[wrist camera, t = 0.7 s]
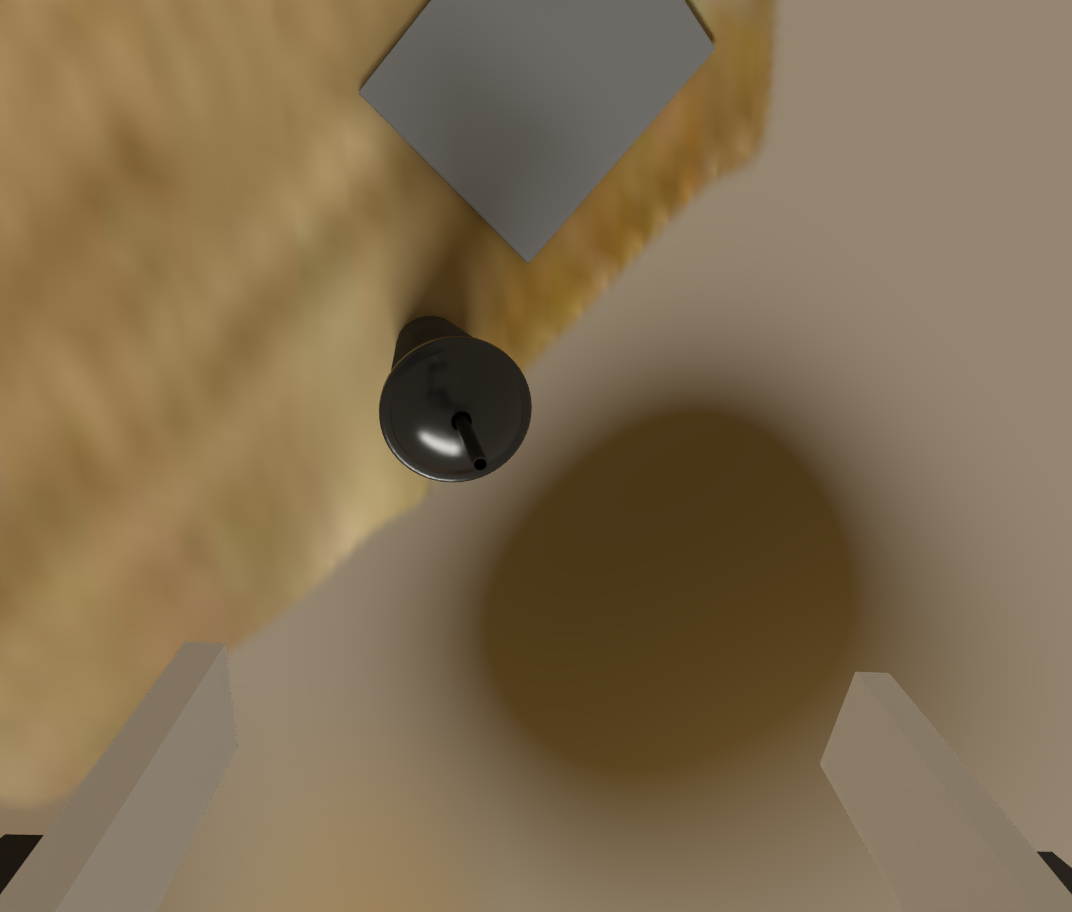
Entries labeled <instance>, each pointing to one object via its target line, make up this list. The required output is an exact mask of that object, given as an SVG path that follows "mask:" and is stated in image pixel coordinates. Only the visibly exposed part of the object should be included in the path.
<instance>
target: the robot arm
mask: <svg viewBox="0 0 1072 912" xmlns="http://www.w3.org/2000/svg"><path fill="white" fill-rule="evenodd" d="M237 746H238V743H237V734H236V725H235V717H234V710H233V701H232V692H231V684H230V676H229V668H228V659H227V651H226V643H207V642H184V644H183V645H182V646H181V648H180V649H179V651H178V652H177V653H176V655H175V656H174V657H173V659H172V660H171V662H170V663H169V664H168V666H167V667H166V668H165V670H164V671H163V672H162V674H161V675H160V677H159V678H158V679H157V681H156V682H155V683H154V685H153V686H152V688H151V689H150V690H149V692H148V693H147V694H146V696H145V697H144V699H143V700H142V701H141V703H140V704H139V705H138V707H137V708H136V709H135V711H134V712H133V714H132V715H131V716H130V718H129V719H128V720H127V722H126V723H125V725H124V726H123V727H122V729H121V730H120V731H119V733H118V734H117V735H116V737H115V738H114V740H113V741H112V742H111V744H110V745H109V746H108V748H107V749H106V751H105V752H104V753H103V755H102V756H101V757H100V759H99V760H98V762H97V763H96V764H95V766H94V767H93V768H92V770H91V771H90V772H89V774H88V775H87V777H86V778H85V779H84V781H83V782H82V783H81V785H80V786H79V788H78V789H77V790H76V792H75V793H74V794H73V796H72V797H71V799H70V800H69V801H68V803H67V804H66V805H65V807H64V808H63V809H62V811H61V812H60V814H59V815H58V817H57V818H56V819H55V820H54V822H53V823H52V825H51V826H50V827H49V829H48V830H47V831H46V833H45V834H44V835H10V834H6V835H4V836H3V837H1V838H0V912H157V910H158V908H159V906H160V904H161V902H162V900H163V897H164V895H165V893H166V892H167V889H168V888H169V885H170V883H171V881H172V879H173V877H174V875H175V873H176V871H177V869H178V867H179V865H180V863H181V861H182V859H183V857H184V855H185V853H186V851H187V849H188V847H189V845H190V843H191V840H192V838H193V837H194V835H195V833H196V830H197V828H198V826H199V824H200V822H201V820H202V818H203V816H204V814H205V812H206V810H207V808H208V806H209V804H210V802H211V800H212V798H213V796H214V794H215V792H216V790H217V788H218V786H219V783H220V782H221V780H222V777H223V775H224V773H225V771H226V769H227V767H228V765H229V763H230V761H231V759H232V757H233V755H234V753H235V751H236V749H237ZM820 765H821V767H822V768H823V771H824V772H825V774H826V776H827V778H828V779H829V781H830V783H831V785H832V786H833V788H834V790H835V792H836V793H837V795H838V797H839V799H840V801H841V802H842V804H843V806H844V807H845V809H846V811H847V813H848V814H849V816H850V818H851V820H852V822H853V823H854V825H855V827H856V829H857V831H858V832H859V834H860V836H861V838H862V839H863V841H864V843H865V845H866V846H867V848H868V850H869V852H870V853H871V855H872V857H873V859H874V860H875V862H876V864H877V866H878V867H879V869H880V871H881V873H882V875H883V876H884V878H885V880H886V881H887V883H888V885H889V887H890V888H891V890H892V892H893V894H894V895H895V897H896V899H897V901H898V903H899V904H900V906H901V908H902V910H903V912H1072V868H1071V867H1070V866H1068V865H1067V864H1066V863H1065V862H1063V861H1062V860H1061V859H1060V858H1059V857H1057V856H1056V855H1055V854H1054V853H1053V852H1036V851H1035V849H1034V848H1033V847H1032V846H1031V845H1030V843H1029V842H1028V841H1027V840H1026V839H1025V837H1024V836H1023V835H1022V834H1021V832H1020V831H1019V830H1018V829H1017V828H1016V826H1015V825H1014V824H1013V823H1012V822H1011V820H1010V819H1009V818H1008V817H1007V816H1006V814H1005V813H1004V812H1003V811H1002V810H1001V808H1000V807H999V806H998V805H997V803H996V802H995V801H994V800H993V799H992V797H991V796H990V795H989V794H988V793H987V791H986V790H985V789H984V788H983V786H982V785H981V784H980V783H979V782H978V780H977V779H976V778H975V777H974V776H973V774H972V773H971V772H970V771H969V770H968V768H967V767H966V766H965V765H964V763H963V762H962V761H961V760H960V759H959V758H958V756H957V755H956V754H955V753H954V751H953V750H952V749H951V748H950V746H949V745H948V744H947V743H946V742H945V740H944V739H943V738H942V737H941V736H940V734H939V733H938V732H937V731H936V730H935V728H934V727H933V726H932V725H931V724H930V722H929V721H928V720H927V719H926V718H925V716H924V715H923V714H922V713H921V711H920V710H919V709H918V708H917V707H916V705H915V704H914V703H913V702H912V701H911V699H910V698H909V697H908V696H907V694H906V693H905V692H904V691H903V690H902V688H901V687H900V686H899V685H898V684H897V682H896V681H895V680H894V679H893V678H892V676H891V675H890V674H889V673H870V672H855V675H854V678H853V680H852V683H851V685H850V688H849V690H848V693H847V696H846V698H845V701H844V703H843V706H842V708H841V711H840V713H839V716H838V719H837V721H836V724H835V726H834V729H833V731H832V734H831V737H830V739H829V742H828V744H827V747H826V750H825V752H824V755H823V757H822V760H821V763H820Z"/></svg>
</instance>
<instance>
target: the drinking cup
mask: <svg viewBox="0 0 1072 912" xmlns="http://www.w3.org/2000/svg"><path fill="white" fill-rule="evenodd" d="M531 410H532V405H531V395H530V391H529V387H528V384H527V381H526V379H525V377H524V375H523V373H522V372H521V370H520V368H519V367H518V366H517V364H516V363H515V362H514V361H513V360H512V359H511V358H510V357H509V356H508V355H507V354H506V353H505V352H503V351H502V350H501V349H499V348H498V347H496V346H494V345H492V344H490V343H488V342H486V341H483V340H480V339H477V338H473V337H472V336H470V335H469V334H467V333H466V332H464V331H463V330H461V329H460V328H458V327H456V326H455V325H453V324H452V323H450V322H449V321H447V320H445V319H443V318H440V317H434V316H426V317H421V318H418V319H416V320H414V321H412V322H410V323H409V324H408V325H407V326H406V327H405V328H404V329H403V330H402V331H401V333H400V335H399V337H398V340H397V343H396V348H395V353H394V358H393V363H392V369H391V372H390V374H389V375H388V377H387V379H386V381H385V384H384V386H383V389H382V393H381V397H380V403H379V419H380V426H381V430H382V433H383V436H384V439H385V441H386V443H387V445H388V447H389V448H390V450H391V451H392V453H393V454H394V455H395V456H396V458H397V459H398V460H399V461H400V462H401V463H402V464H403V465H405V466H406V467H407V468H409V469H410V470H412V471H413V472H415V473H417V474H419V475H421V476H423V477H426V478H429V479H432V480H437V481H442V482H463V481H470V480H474V479H477V478H480V477H483V476H485V475H487V474H489V473H491V472H493V471H495V470H496V469H498V468H499V467H501V466H502V465H503V464H504V463H506V462H507V461H508V460H509V459H510V458H511V457H512V456H513V455H514V453H515V452H516V451H517V449H518V448H519V446H520V445H521V443H522V442H523V440H524V438H525V436H526V433H527V430H528V428H529V424H530V418H531Z"/></svg>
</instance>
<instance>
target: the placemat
mask: <svg viewBox="0 0 1072 912" xmlns="http://www.w3.org/2000/svg"><path fill="white" fill-rule="evenodd" d="M715 49H716V48H715V47H714V45H713V44H712V42H711V41H710V39H709V37H708V36H707V34H706V33H705V31H704V30H703V28H702V27H701V25H700V24H699V22H698V20H697V19H696V17H695V16H694V14H693V13H692V11H691V10H690V8H689V6H688V5H687V3H686V2H685V0H431V1H430V2H429V3H428V5H427V6H426V7H425V8H424V10H423V11H422V12H421V14H420V15H419V16H418V17H417V19H416V20H415V21H414V22H413V24H412V25H411V26H410V27H409V29H408V30H407V31H406V33H405V34H404V35H403V36H402V38H401V39H400V40H399V41H398V43H397V44H396V45H395V46H394V48H393V49H392V50H391V52H390V53H389V54H388V55H387V57H386V58H385V59H384V60H383V62H382V63H381V64H380V66H379V67H378V68H377V69H376V71H375V72H374V73H373V74H372V76H371V77H370V78H369V79H368V81H367V82H366V83H365V85H364V86H363V87H362V88H361V90H360V91H359V94H360V95H361V96H362V97H363V98H364V99H365V100H366V101H367V102H368V103H369V104H370V105H371V106H372V107H373V108H374V109H375V110H376V111H377V112H378V113H379V114H380V115H381V116H382V117H383V118H384V119H385V120H386V121H387V122H388V123H389V124H390V125H391V126H392V127H393V128H394V129H395V130H396V131H397V132H398V133H399V134H400V135H401V136H402V137H403V138H404V139H405V140H406V141H407V142H408V144H409V145H410V146H411V147H412V148H413V149H414V150H415V151H416V152H417V153H418V154H419V155H420V156H421V157H422V158H423V159H424V160H425V161H426V162H427V163H428V164H429V165H430V166H431V167H432V168H433V169H434V170H435V171H436V172H437V173H438V174H439V175H440V176H441V177H442V178H443V179H444V180H445V181H446V182H447V183H448V184H449V185H450V186H451V187H452V188H453V189H454V190H455V191H456V192H457V193H458V194H459V195H460V196H461V197H462V198H463V199H464V200H465V201H466V202H467V203H468V204H469V205H470V206H471V207H472V208H473V209H474V210H475V211H476V212H477V213H478V214H479V215H480V216H481V217H482V218H483V219H484V220H485V221H486V222H487V223H488V224H489V225H490V226H491V227H492V228H493V229H494V230H495V231H496V232H497V233H498V234H499V235H500V236H501V237H502V238H503V239H504V240H505V241H506V242H507V243H508V244H509V245H510V246H511V247H512V248H513V249H514V250H515V251H516V252H517V253H518V255H519V256H520V257H521V258H522V259H523V260H524V261H525V262H526V263H529V262H530V261H531V260H532V259H533V258H534V257H535V255H536V254H537V253H538V252H539V251H540V250H541V249H542V247H543V246H544V245H545V244H546V243H547V242H548V240H549V239H550V238H551V237H552V236H553V235H554V234H555V232H556V231H557V230H558V229H559V228H560V227H561V226H562V224H563V223H564V222H565V221H566V220H567V219H568V217H569V216H570V215H571V214H572V213H573V212H574V211H575V209H576V208H577V207H578V206H579V205H580V204H581V203H582V201H583V200H584V199H585V198H586V197H587V196H588V195H589V193H590V192H591V191H592V190H593V189H594V188H595V186H596V185H597V184H598V183H599V182H600V181H601V180H602V178H603V177H604V176H605V175H606V174H607V173H608V172H609V170H610V169H611V168H612V167H613V166H614V165H615V163H616V162H617V161H618V160H619V159H620V158H621V157H622V155H623V154H624V153H625V152H626V151H627V150H628V149H629V147H630V146H631V145H632V144H633V143H634V142H635V140H636V139H637V138H638V137H639V136H640V135H641V134H642V132H643V131H644V130H645V129H646V128H647V127H648V126H649V124H650V123H651V122H652V121H653V120H654V119H655V118H656V116H657V115H658V114H659V113H660V112H661V111H662V109H663V108H664V107H665V106H666V105H667V104H668V103H669V101H670V100H671V99H672V98H673V97H674V96H675V95H676V93H677V92H678V91H679V90H680V89H681V88H682V86H683V85H684V84H685V83H686V82H687V81H688V80H689V78H690V77H691V76H692V75H693V74H694V73H695V72H696V70H697V69H698V68H699V67H700V66H701V65H702V63H703V62H704V61H705V60H706V59H707V58H708V57H709V55H710V54H711V53H712V52H713V51H714V50H715Z"/></svg>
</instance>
